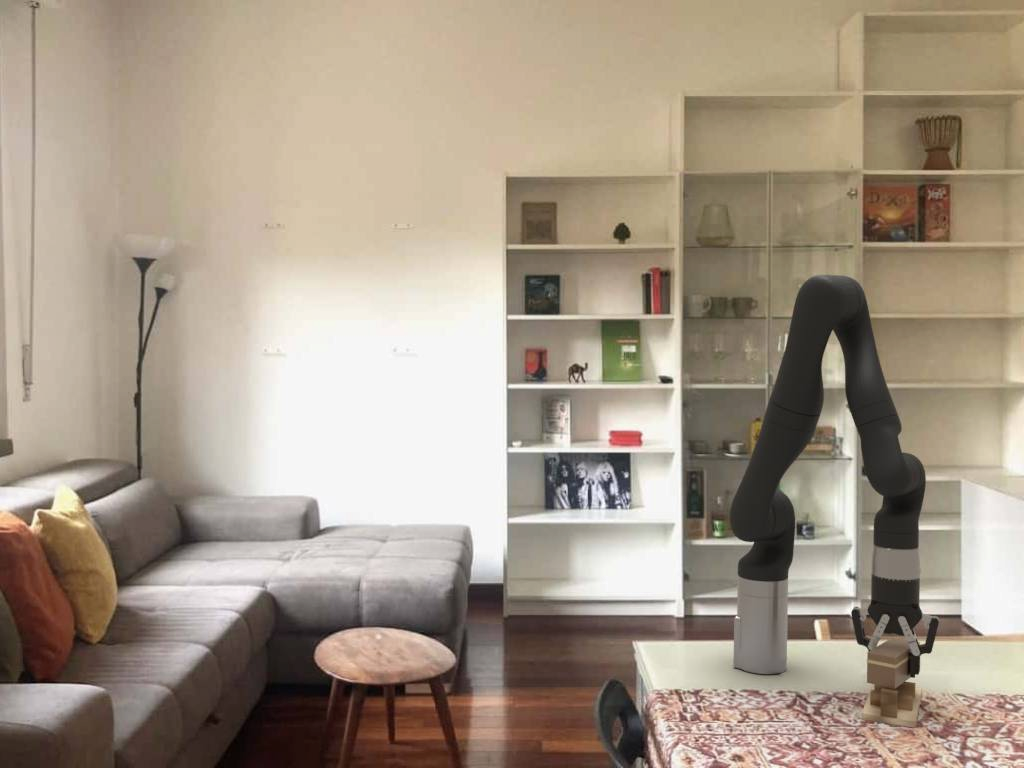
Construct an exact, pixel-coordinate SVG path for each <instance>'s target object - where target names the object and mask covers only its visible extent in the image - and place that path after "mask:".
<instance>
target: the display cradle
mask: <svg viewBox="0 0 1024 768" xmlns="http://www.w3.org/2000/svg"><path fill="white" fill-rule="evenodd" d="M922 693H923V687H922V686H917V685H916V682H912V681H911V682H910V681H905V682H904V683H902V684H901V685H900V686H898V687H897V688H895V689H893V688H889V687H884V686H880V685H875V684H871V685H870V688H869V691H868V694H867V697H866V700H865V702H864V703H865V704H864V707H863V708H862V712H861V720H865V721H869V722H876V723H883V724H890V725H894V726H895V725H896V726H902V727H907V728H913V729H914V728H915V729H916V726H917V720H918V716H919V712H920V711H919V710H920V705H921V700H922Z"/></svg>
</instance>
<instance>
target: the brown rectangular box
mask: <svg viewBox="0 0 1024 768" xmlns="http://www.w3.org/2000/svg"><path fill="white" fill-rule="evenodd" d="M918 642H919V645H921V642H920V641H918ZM911 652H912V651H911V649H910V646H909V644H908V642H907V640H906V638H902V637H901V638H900V637H895V636H892V637H891V638H889V639H887V640H886V641H884V642H882V643H881V644H879V645H877V647H876V648H874V649H872V650H871V651H869V652H868V651H867V653H866V654H867V657H866V658H867V659H866V664H867V665H866V683H867V684H871V685H872V684H875V685H880V686H884V687H889V688H893V689H895V688H897V687H898V686H900V685H901V684H902V683H904V682H907V681H908V680H909V679H910V678H912V677H910V658H911Z"/></svg>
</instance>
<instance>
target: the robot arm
mask: <svg viewBox="0 0 1024 768" xmlns="http://www.w3.org/2000/svg"><path fill="white" fill-rule="evenodd" d="M832 332H833V333H834V335H835V336H836V338H837V341H838V342H839V345H840V348H841V352H842V355H843V361H844V375H845V376H844V388H845V389H844V391H845V397H846V403H847V406H848V408H849V412H850V414H851V417H852V420H853V423H854V425H855V428H856V430H857V433H858V436H859V438H860V439H859V440H860V450H861V456H862V462H863V463H862V464H863V468H864V472H865V475H866V478H867V480H868V482H869V484H870V486H871V488H872V489H873V490H874V491H875V492H876V493H877V494H879V495H881V496H882V503H881V504H882V505H881V508H880V509H879V510H878V511H877V512H876V513H875V515H874V519H873V545H872V546H873V547H872V548H873V549H872V553H871V554H872V555H871V575H870V576H871V577H870V578H871V579H870V581H871V582H870V583H871V584H870V586H871V587H870V590H871V591H870V603H869V606H867V607H859V606H854V607H853V608H852V610H851V613H850V614H851V618H852V619H851V620H852V622H853V623H852V625H853V629H854V635H855V640H856V643H857V644H858V645H859V646H863V647H865V648H867V652H869V651H871V650H872V649H874V648H876V647H877V646H878V644H879V641H880V640H881V637H882V635H883V634H884V635H885V634H886V635H891V634H895V635H897V636H902V637H903V636H904V637H905V638H904V639H906V640H907V642H908V644H909V646H910V649H911V651H912V652H911V658H910V677H911V678H912V679H913V678H914V679H915V678H916V676H918V675H919V674H920V672H921V656H922V655H926V654H931V653H932V652H933V648H934V643H935V639H936V637H937V631H938V628H939V623H940V617H939V616H938V615H929V614H926V613H923V611H922V609H921V607H920V593H921V592H920V586H921V585H920V584H921V583H920V582H921V579H920V577H921V561H920V560H921V558H920V553H919V552H920V551H919V545H920V544H919V543H920V542H919V541H920V538H919V537H920V536H919V534H920V533H919V532H920V531H919V530H920V528H919V520H920V515H921V512H922V507H923V502H924V499H925V498H924V497H925V492H926V483H927V477H926V470H925V467H924V464H923V463H922V461H921V460H920V458H918V457H917V456H916V455H914V454H912V453H909V452H902V448H901V443H900V439H899V435H900V434H901V432H902V429H903V426H902V422H901V420H900V416H899V414H898V411H897V408H896V406H895V403H894V400H893V398H892V396H891V393H890V389H889V388H888V385H887V381H886V378H885V376H884V372H883V369H882V365H881V362H880V357H879V353H878V350H877V344H876V340H875V335H874V331H873V325H872V321H871V315H870V311H869V305H868V302H867V297H866V293H865V291H864V289H863V287H862V286H861V284H860V283H859V282H858V281H857V280H856V279H854V278H853V277H850V276H847V275H838V274H837V275H835V274H818V275H813V276H811V277H809V278H807V280H805V282H803V283H802V285H801V286H800V288H799V289H798V292H797V295H796V297H795V302H794V305H793V310H792V315H791V321H790V326H789V330H788V336H787V339H786V345H785V349H784V352H783V354H782V355H783V356H782V358H781V361H780V364H779V369H778V372H777V374H776V375H777V376H776V379H775V382H774V384H773V389H772V391H771V393H770V396H769V399H768V403H767V406H766V408H765V412H764V415H763V420H762V424H761V426H760V430H759V433H758V435H757V438H756V442H755V444H754V447H753V449H752V454H751V457H750V459H749V462H748V465H747V467H746V469H745V472H744V474H743V476H742V479H741V482H740V484H739V485H738V488H737V490H736V492H735V494H734V497H733V500H732V503H731V505H730V510H729V524H730V529H731V531H732V533H733V534H734V536H735V537H736V538H737V539H738V540H740V541H742V542H746V543H753V544H752V547H751V548H750V550H749V551H748V552H747V553H745V555H743V556H742V557H741V558H739V560H738V563H737V598H736V599H737V602H736V603H737V604H736V615H735V616H734V619H733V668H736V669H739V670H742V671H745V672H747V673H753V674H761V675H775V674H782V673H784V672H786V671H787V666H788V615H789V614H788V608H789V605H788V604H789V603H788V602H789V598H788V597H789V571H790V567H791V565H792V563H793V560H794V550H795V536H796V535H795V534H796V515H795V508H794V505H793V502H792V500H791V499H790V497H788V495H787V494H785V493H784V492H782V491H780V490H777V489H778V487H779V484H780V482H781V481H782V478H783V477H784V475H785V473H786V472H787V471H788V470H789V468H790V467H791V466H792V465H793V463H794V462H795V461H796V460H797V459H798V458H799V456H800V455H801V454H802V453H803V452H804V450H805V449H806V448H807V446H808V445H809V443H810V442H811V440H812V439H813V437H814V434H815V431H816V429H817V426H818V423H819V420H820V416H821V413H822V411H823V406H824V402H825V401H824V400H825V390H824V380H823V370H822V369H823V367H822V366H823V358H824V355H825V351H826V348H827V344H828V343H829V340H830V337H831V334H832ZM867 615H869V616H870V618H871V620H872V621H873V623H874V624H875V625H876V627H875V630H874V631H873V634H872V636H871V638H869V637H867V636H866V631H865V627H864V621H866V618H867ZM920 621H923V623H924V628H925V629H926V630H928V631H927V634H926V639H925V642H924V643H922V644H921V643H920V645H919V642H920V641H919V640H918V637H917V635H916V632H915V630H914V628H915V627H916V626H917V625H918V624H919V623H920Z"/></svg>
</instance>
